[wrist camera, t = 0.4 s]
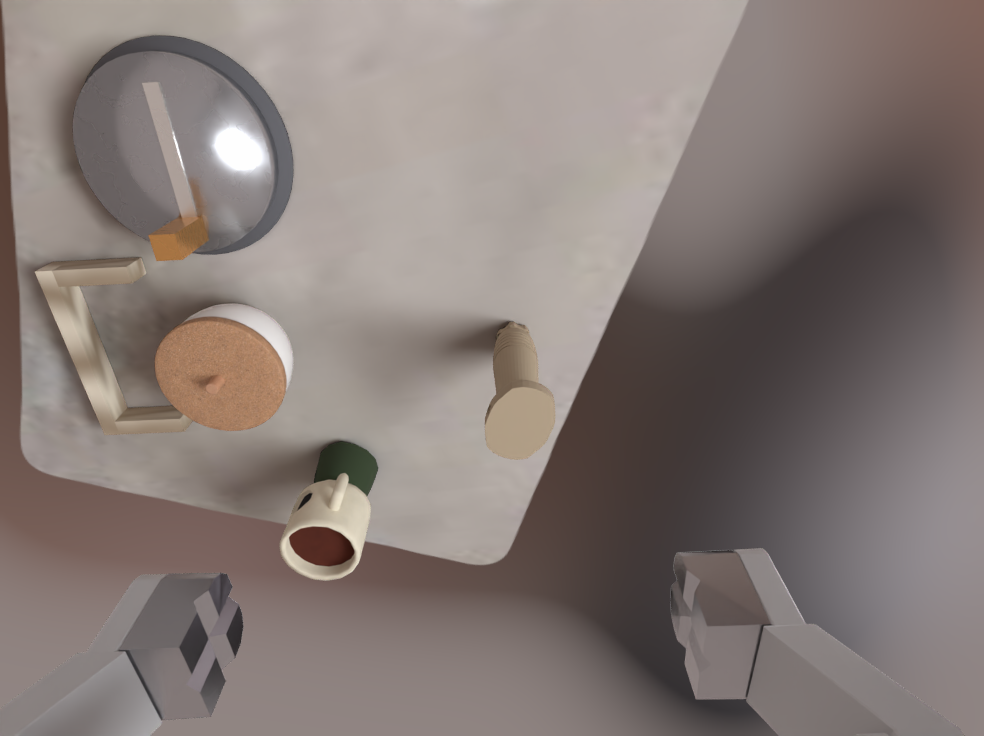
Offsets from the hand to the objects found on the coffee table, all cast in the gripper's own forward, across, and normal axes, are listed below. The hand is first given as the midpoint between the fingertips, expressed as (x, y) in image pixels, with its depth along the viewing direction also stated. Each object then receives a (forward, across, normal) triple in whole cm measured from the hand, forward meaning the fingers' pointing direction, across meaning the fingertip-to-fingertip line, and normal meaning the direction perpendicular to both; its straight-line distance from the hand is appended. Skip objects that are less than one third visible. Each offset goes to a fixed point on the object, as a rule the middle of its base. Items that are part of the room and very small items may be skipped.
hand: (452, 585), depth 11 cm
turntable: (+45, +24, -2) cm, 51 cm away
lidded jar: (+45, +23, +16) cm, 53 cm away
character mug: (+45, +16, +31) cm, 57 cm away
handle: (+45, -2, +17) cm, 48 cm away
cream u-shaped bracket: (+45, +35, +16) cm, 59 cm away
